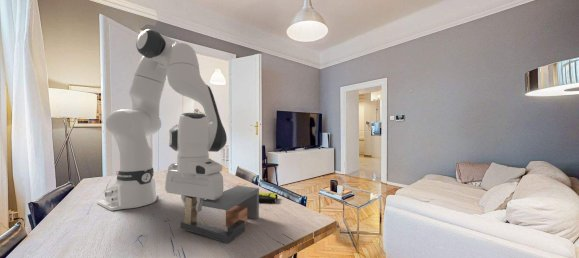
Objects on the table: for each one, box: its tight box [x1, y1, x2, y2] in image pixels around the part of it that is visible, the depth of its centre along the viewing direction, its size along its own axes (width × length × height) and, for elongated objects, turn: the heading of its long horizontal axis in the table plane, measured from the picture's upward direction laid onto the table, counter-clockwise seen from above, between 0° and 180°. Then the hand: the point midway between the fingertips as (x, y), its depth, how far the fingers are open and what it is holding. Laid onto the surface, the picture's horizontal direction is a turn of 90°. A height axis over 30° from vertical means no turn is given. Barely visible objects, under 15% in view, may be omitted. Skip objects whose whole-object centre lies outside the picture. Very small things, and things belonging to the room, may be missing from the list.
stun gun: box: [259, 191, 279, 204], centre depth 90 cm, size 3×19×15 cm
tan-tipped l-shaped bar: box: [180, 196, 246, 244], centre depth 65 cm, size 18×8×10 cm, turn 68°
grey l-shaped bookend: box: [202, 185, 260, 220], centre depth 68 cm, size 9×18×10 cm, turn 160°
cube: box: [225, 206, 248, 227], centre depth 70 cm, size 5×5×5 cm
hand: (193, 209), depth 65 cm, fingers closed on tan-tipped l-shaped bar, 2 cm apart
